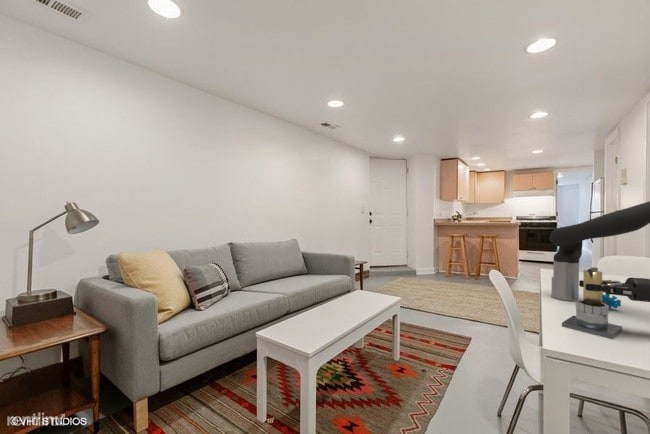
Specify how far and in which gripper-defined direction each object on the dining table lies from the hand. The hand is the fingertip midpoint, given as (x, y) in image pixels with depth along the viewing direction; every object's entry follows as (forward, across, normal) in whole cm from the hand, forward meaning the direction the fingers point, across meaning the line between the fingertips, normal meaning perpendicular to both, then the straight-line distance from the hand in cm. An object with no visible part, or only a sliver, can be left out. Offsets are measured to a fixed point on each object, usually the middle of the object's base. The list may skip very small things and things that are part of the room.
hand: (582, 285), depth 103 cm
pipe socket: (-2, 0, +15) cm, 15 cm away
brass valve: (-3, 0, +7) cm, 7 cm away
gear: (-16, -29, +15) cm, 37 cm away
